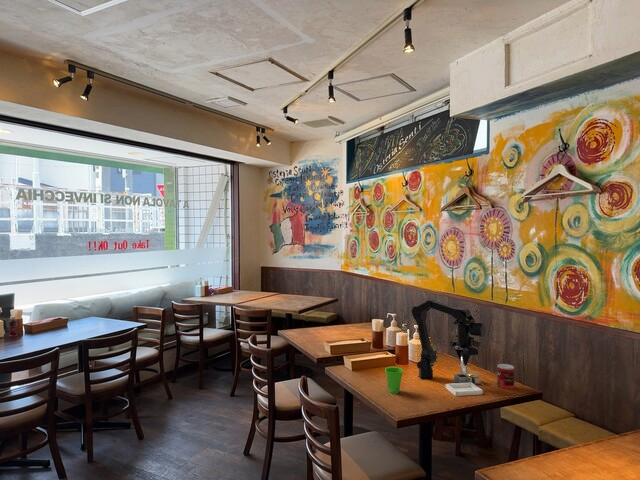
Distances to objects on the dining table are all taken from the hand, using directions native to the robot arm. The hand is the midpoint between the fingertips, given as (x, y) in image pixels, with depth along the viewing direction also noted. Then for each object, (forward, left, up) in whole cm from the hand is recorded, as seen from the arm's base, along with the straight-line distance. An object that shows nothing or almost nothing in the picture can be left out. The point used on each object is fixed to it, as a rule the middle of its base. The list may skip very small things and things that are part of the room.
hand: (463, 364), depth 207 cm
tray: (-2, -4, -12) cm, 13 cm away
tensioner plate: (+6, +7, -12) cm, 15 cm away
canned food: (+22, -2, -13) cm, 25 cm away
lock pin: (0, 0, -4) cm, 4 cm away
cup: (-36, +1, -12) cm, 38 cm away
